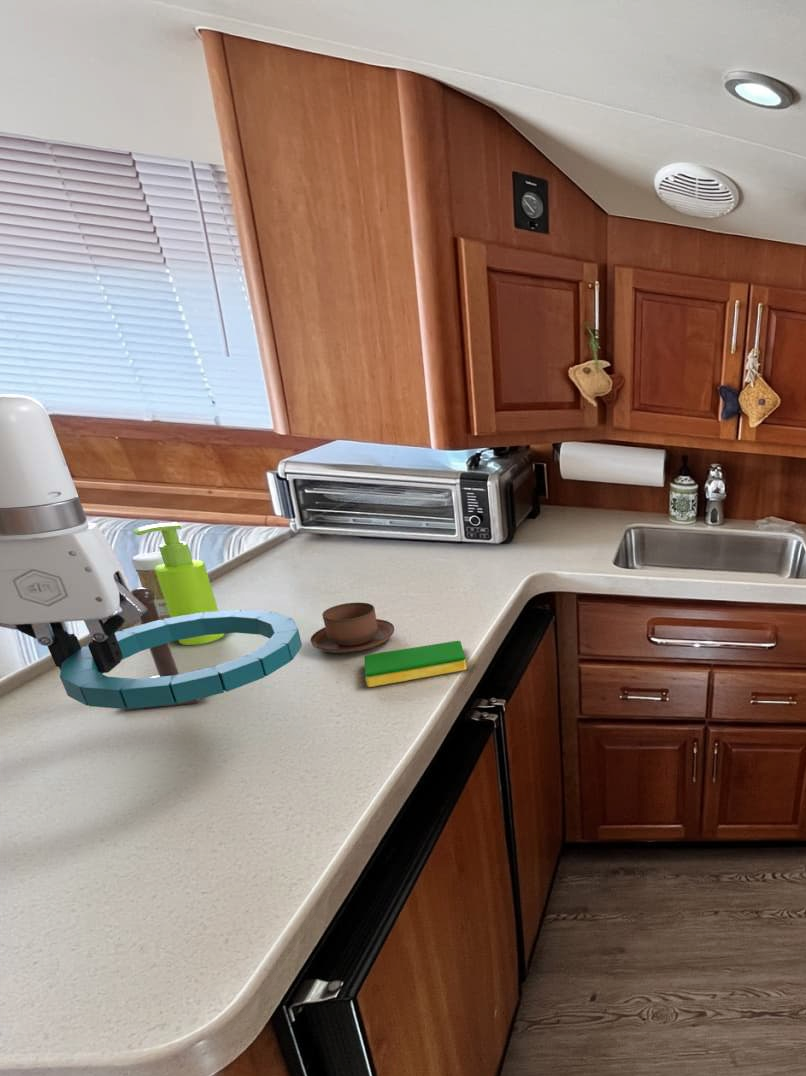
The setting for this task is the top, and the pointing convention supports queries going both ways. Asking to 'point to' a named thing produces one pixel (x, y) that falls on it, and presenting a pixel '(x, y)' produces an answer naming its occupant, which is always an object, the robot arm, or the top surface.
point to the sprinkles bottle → (151, 578)
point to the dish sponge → (414, 663)
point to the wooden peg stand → (161, 652)
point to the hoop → (166, 690)
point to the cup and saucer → (351, 629)
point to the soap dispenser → (182, 579)
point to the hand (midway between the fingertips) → (93, 667)
